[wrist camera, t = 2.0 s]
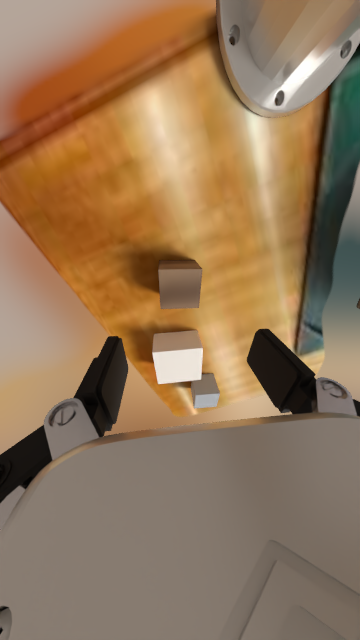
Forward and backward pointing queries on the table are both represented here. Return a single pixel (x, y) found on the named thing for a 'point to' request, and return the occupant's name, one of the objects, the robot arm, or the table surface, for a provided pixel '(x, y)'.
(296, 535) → the robot arm
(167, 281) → the walnut cube
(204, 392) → the slate-grey cube
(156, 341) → the off-white block
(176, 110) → the table surface
